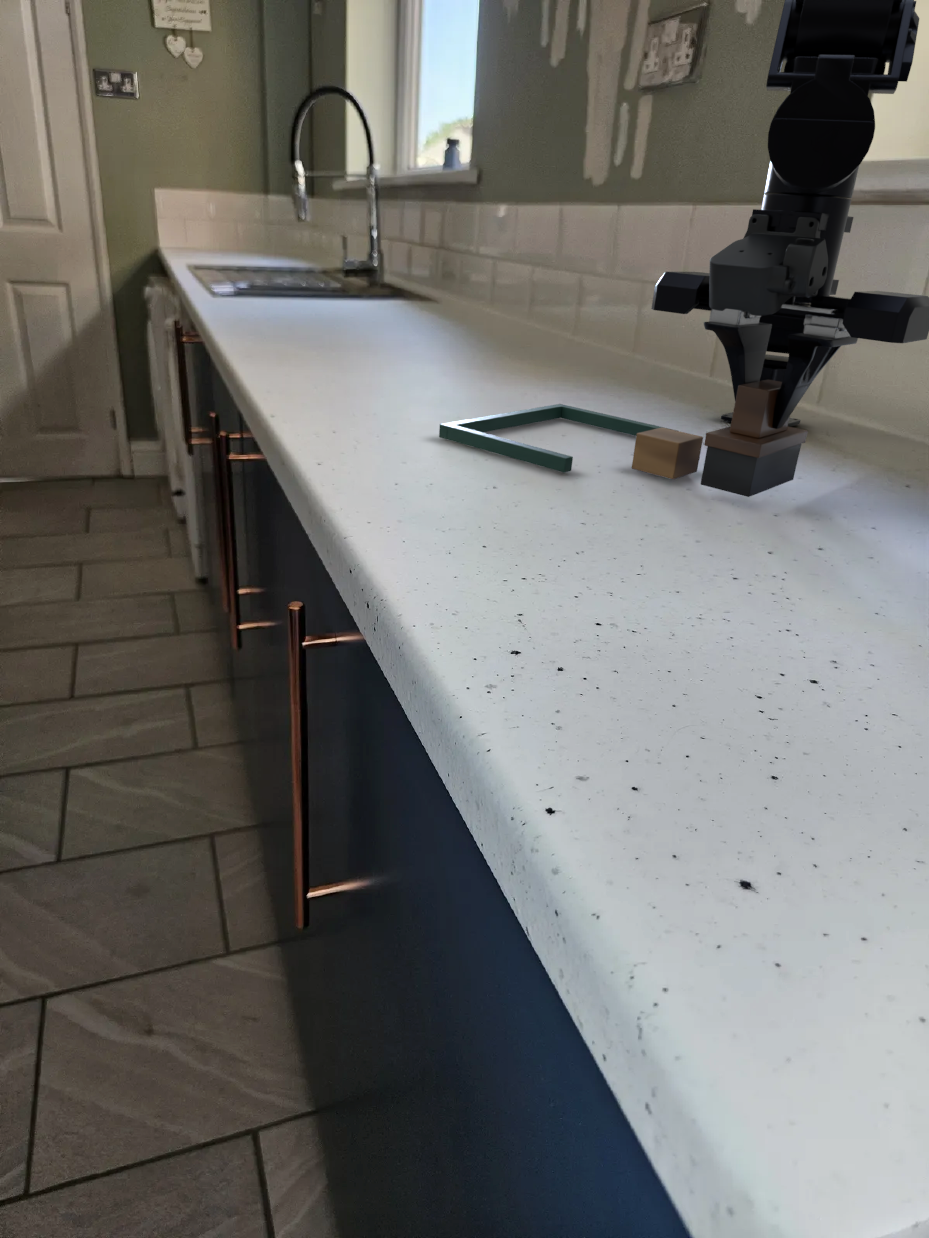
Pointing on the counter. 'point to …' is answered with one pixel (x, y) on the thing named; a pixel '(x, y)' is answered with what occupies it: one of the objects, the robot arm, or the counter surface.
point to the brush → (752, 445)
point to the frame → (474, 428)
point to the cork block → (667, 452)
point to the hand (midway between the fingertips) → (759, 424)
